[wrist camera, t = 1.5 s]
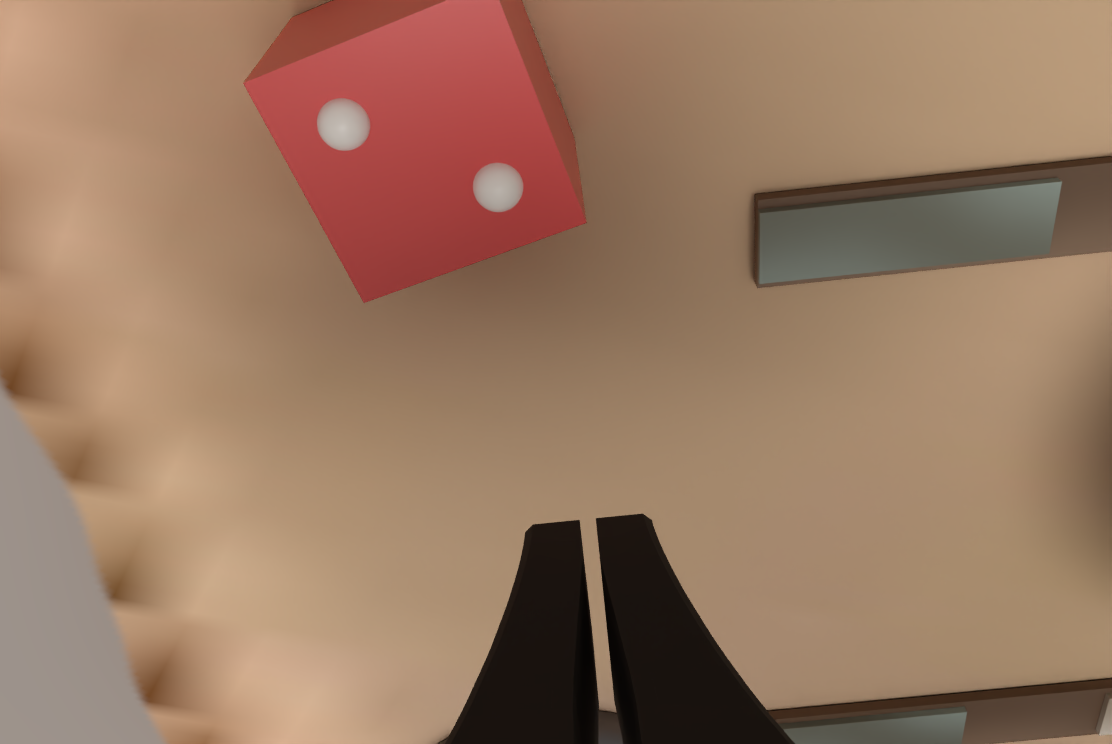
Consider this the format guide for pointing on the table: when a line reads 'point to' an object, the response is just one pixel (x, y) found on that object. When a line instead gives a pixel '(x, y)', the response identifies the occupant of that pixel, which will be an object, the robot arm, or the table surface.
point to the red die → (420, 133)
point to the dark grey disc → (604, 729)
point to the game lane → (928, 244)
